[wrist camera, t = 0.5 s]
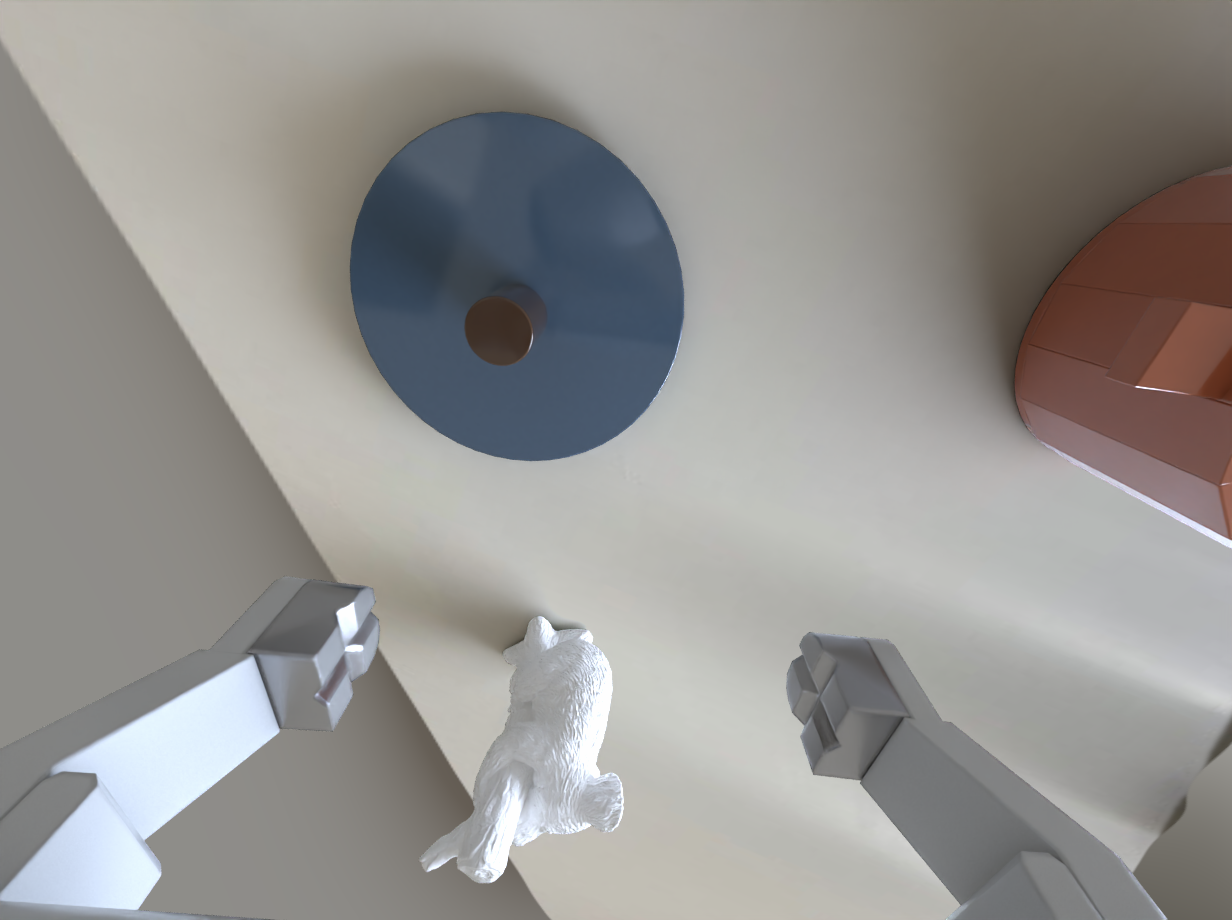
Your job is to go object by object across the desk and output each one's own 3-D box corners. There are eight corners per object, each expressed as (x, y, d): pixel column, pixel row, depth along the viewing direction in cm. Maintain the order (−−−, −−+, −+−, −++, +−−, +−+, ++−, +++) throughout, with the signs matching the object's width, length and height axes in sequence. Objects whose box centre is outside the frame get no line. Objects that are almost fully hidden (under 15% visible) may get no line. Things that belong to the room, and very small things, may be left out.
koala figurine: (490, 673, 31) (420, 912, 20) (486, 596, 28) (401, 830, 17) (617, 682, 31) (615, 923, 20) (627, 607, 28) (630, 844, 17)
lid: (345, 88, 17) (253, 44, 13) (714, 150, 18) (742, 127, 13) (379, 430, 23) (325, 477, 19) (651, 466, 24) (657, 519, 19)
